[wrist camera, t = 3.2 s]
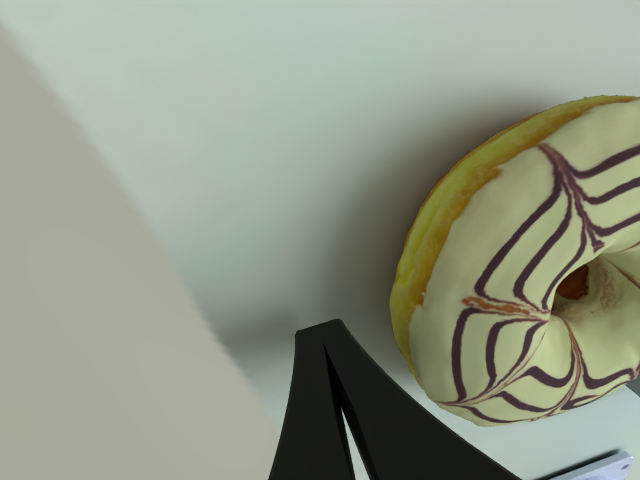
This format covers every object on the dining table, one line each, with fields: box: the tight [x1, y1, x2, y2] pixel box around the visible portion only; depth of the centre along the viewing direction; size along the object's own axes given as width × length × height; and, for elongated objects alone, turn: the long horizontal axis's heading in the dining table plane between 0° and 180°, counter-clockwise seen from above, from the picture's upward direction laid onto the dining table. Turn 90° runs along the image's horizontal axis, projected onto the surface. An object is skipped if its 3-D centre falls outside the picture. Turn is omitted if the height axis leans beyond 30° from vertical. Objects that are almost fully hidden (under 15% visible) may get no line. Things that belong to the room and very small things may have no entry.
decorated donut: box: [389, 95, 640, 427], centre depth 10 cm, size 10×11×4 cm
